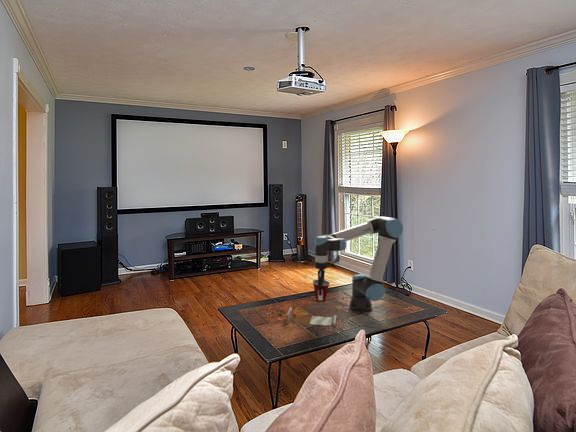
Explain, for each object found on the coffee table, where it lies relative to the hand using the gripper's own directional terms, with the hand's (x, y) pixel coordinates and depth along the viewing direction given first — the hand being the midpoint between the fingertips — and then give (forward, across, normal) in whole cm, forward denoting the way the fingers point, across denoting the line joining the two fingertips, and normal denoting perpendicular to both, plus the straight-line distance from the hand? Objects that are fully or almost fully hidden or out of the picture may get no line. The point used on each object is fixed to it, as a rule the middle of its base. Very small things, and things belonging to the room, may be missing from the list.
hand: (321, 297), depth 234 cm
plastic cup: (+2, 0, 0) cm, 2 cm away
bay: (+15, 0, -6) cm, 16 cm away
